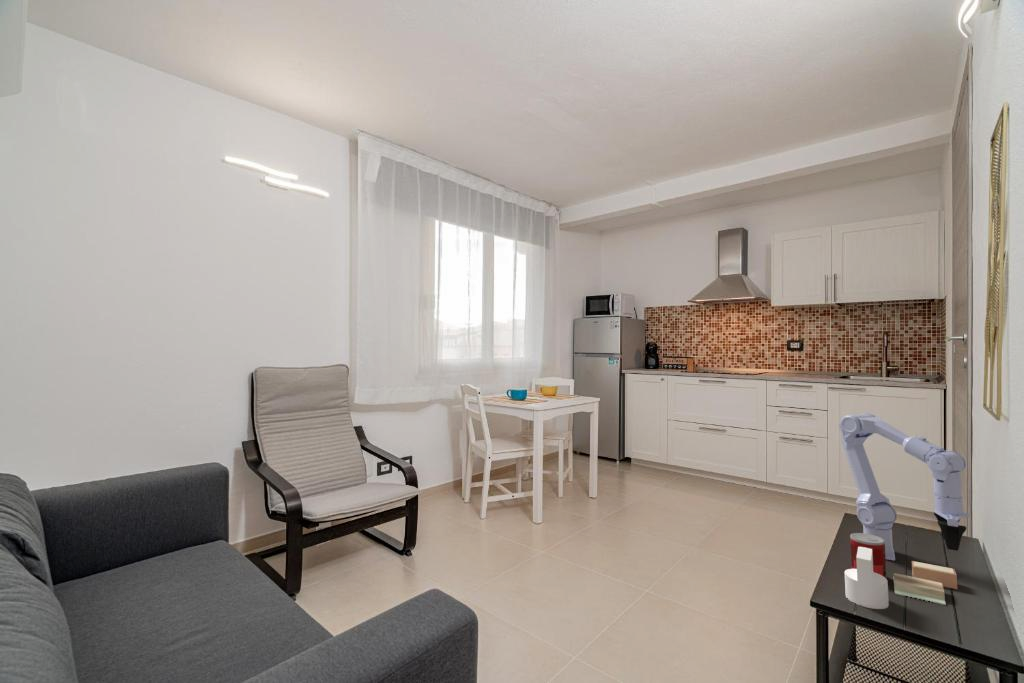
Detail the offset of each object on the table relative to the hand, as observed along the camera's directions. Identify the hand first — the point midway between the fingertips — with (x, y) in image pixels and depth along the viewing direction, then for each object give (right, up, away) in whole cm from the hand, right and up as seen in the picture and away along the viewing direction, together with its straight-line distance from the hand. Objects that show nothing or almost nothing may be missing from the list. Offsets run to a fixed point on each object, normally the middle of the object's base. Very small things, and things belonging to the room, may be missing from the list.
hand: (950, 544), depth 130 cm
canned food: (-19, -11, +4) cm, 23 cm away
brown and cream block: (-4, -11, 0) cm, 11 cm away
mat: (-13, -11, -4) cm, 17 cm away
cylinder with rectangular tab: (-29, -11, -8) cm, 32 cm away
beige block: (-13, -10, -4) cm, 17 cm away
